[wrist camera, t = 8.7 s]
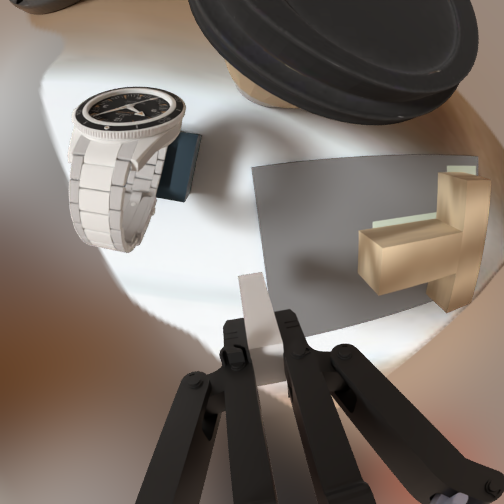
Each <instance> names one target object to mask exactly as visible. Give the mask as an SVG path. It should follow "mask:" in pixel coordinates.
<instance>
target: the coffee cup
mask: <svg viewBox="0 0 504 504" xmlns="http://www.w3.org/2000/svg"><path fill="white" fill-rule="evenodd" d="M188 2H189V5H190V8H191V11H192V14H193V16H194V18H195V20H196V22H197V24H198V26H199V27H200V29H201V31H202V32H203V34H204V35H205V37H206V38H207V39H208V41H209V42H210V43H211V45H212V46H213V47H214V48H215V49H216V50H217V51H218V53H219V54H220V55H221V56H222V57H223V58H224V59H225V62H226V65H227V68H228V70H229V73H230V75H231V77H232V79H233V80H234V82H235V84H236V87H237V89H238V90H239V91H240V93H241V94H242V95H243V96H244V97H245V98H247V99H248V100H250V101H252V102H254V103H256V104H259V105H262V106H267V107H283V108H301V109H303V110H306V111H308V112H311V113H313V114H317V115H320V116H323V117H326V118H329V119H333V120H337V121H341V122H347V123H352V124H361V125H388V124H395V123H400V122H404V121H407V120H410V119H413V118H415V117H418V116H421V115H424V114H427V113H429V112H431V111H433V110H435V109H436V108H438V107H439V106H441V105H442V104H443V103H445V102H446V101H447V100H448V99H449V98H450V97H451V95H452V94H453V93H454V91H455V90H456V88H457V87H458V85H459V83H460V82H461V81H462V80H463V79H464V78H465V77H466V76H467V75H468V73H469V72H470V70H471V69H472V67H473V65H474V62H475V59H476V56H477V51H478V27H477V21H476V17H475V13H474V10H473V7H472V5H471V2H470V0H188Z"/></svg>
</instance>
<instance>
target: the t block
mask: <svg viewBox="0 0 504 504" xmlns="http://www.w3.org/2000/svg"><path fill="white" fill-rule="evenodd" d="M490 193H491V180H489V179H486V178H483V177H479V176H476V175H472V174H469V173H465V172H438V194H437V213H436V219H429V220H423V221H416V222H410V223H403V224H397V225H390V226H384V227H378V228H371V229H365V230H359V247H358V274H359V275H360V276H361V277H362V278H363V279H364V280H365V282H366V283H367V284H368V285H369V286H370V287H371V288H372V289H373V290H374V291H375V292H376V293H377V295H378V296H379V295H383V294H387V293H391V292H395V291H398V290H402V289H406V288H409V287H413V286H416V285H420V284H423V283H426V282H428V285H427V290H426V294H427V295H428V296H429V297H430V298H431V299H432V300H433V301H434V302H435V303H436V304H438V305H439V306H440V307H441V308H442V309H443V310H444V311H445V312H446V313H448V312H451V311H453V310H456V309H458V308H460V307H463V306H465V305H467V304H470V303H471V301H472V297H473V293H474V290H475V286H476V282H477V278H478V274H479V269H480V265H481V260H482V255H483V249H484V244H485V237H486V231H487V224H488V215H489V206H490Z"/></svg>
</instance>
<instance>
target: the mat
mask: <svg viewBox="0 0 504 504" xmlns="http://www.w3.org/2000/svg"><path fill="white" fill-rule="evenodd" d="M438 172H465V173H469V174H472V175H476V176H478V157H477V156H461V155H381V156H360V157H344V158H331V159H319V160H309V161H299V162H290V163H282V164H274V165H266V166H259V167H252V175H253V182H254V190H255V197H256V204H257V211H258V219H259V226H260V233H261V241H262V248H263V256H264V263H265V271H266V279H267V287H268V294H269V298H270V301H271V304H272V308H273V311H274V312H276V311H281V310H286V309H291V310H292V311H293V312H294V313H296V316H297V318H298V321H299V323H300V326H301V328H302V331H303V333H304V336H305V337H308V336H312V335H316V334H321V333H325V332H329V331H333V330H337V329H341V328H345V327H349V326H353V325H357V324H360V323H364V322H368V321H371V320H375V319H378V318H382V317H385V316H388V315H392V314H395V313H398V312H401V311H404V310H407V309H411V308H414V307H417V306H420V305H422V304H425V303H428V302H431V301H433V300H432V299H431V298H430V297H429V296H428V295H427V294H426V290H427V285H428V282H426V283H423V284H420V285H416V286H413V287H409V288H406V289H402V290H398V291H395V292H391V293H387V294H383V295H379V296H378V295H377V293H376V292H375V291H374V290H373V289H372V288H371V287H370V286H369V285H368V284H367V283H366V282H365V280H364V279H363V278H362V277H361V276H360V275H359V274H358V247H359V230H365V229H371V228H378V227H384V226H390V225H397V224H403V223H410V222H416V221H423V220H429V219H436V213H437V194H438Z"/></svg>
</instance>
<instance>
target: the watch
mask: <svg viewBox="0 0 504 504" xmlns="http://www.w3.org/2000/svg"><path fill="white" fill-rule="evenodd" d="M185 110H186V105H185V103H184V102H183V100H182V99H181V98H179V97H178V96H177V95H175V94H173V93H171V92H168V91H165V90H161V89H156V88H150V87H125V88H118V89H113V90H109V91H105V92H102V93H99V94H97V95H94V96H92V97H90V98H88V99H87V100H85V101H84V102H82V103H81V104H80V105H79V106H78V107H77V108H75V109H74V111H73V113H72V116H71V117H72V119H71V120H72V123H74V128H73V132H72V135H71V139H70V144H69V149H68V155H67V156H68V162H69V163H71V170H70V178H71V179H70V181H69V201H70V204H69V205H70V213H71V217H72V221H73V225H74V228H75V230H76V232H77V234H78V235H79V237H80V238H81V240H82V241H83V242H84V243H87V245H91V246H96V247H101V248H106V249H111V250H116V251H121V252H126V253H129V252H131V251H132V250H133V249H134V248H135V246H138V245H140V243H141V241H142V239H143V237H144V234H145V232H146V229H147V227H148V224H149V222H150V219H151V216H152V215H154V213H155V205H156V202H157V200H156V197H157V198H163V199H168V200H174V201H179V202H185V201H186V199H187V197H188V195H189V194H190V189H191V184H192V179H193V174H194V169H195V164H196V160H197V155H198V151H199V146H200V142H201V137H202V136H201V135H198V134H193V133H187V132H184V131H180V130H181V124H182V118H183V117H184V115H185ZM74 179H77V180H74Z"/></svg>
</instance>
